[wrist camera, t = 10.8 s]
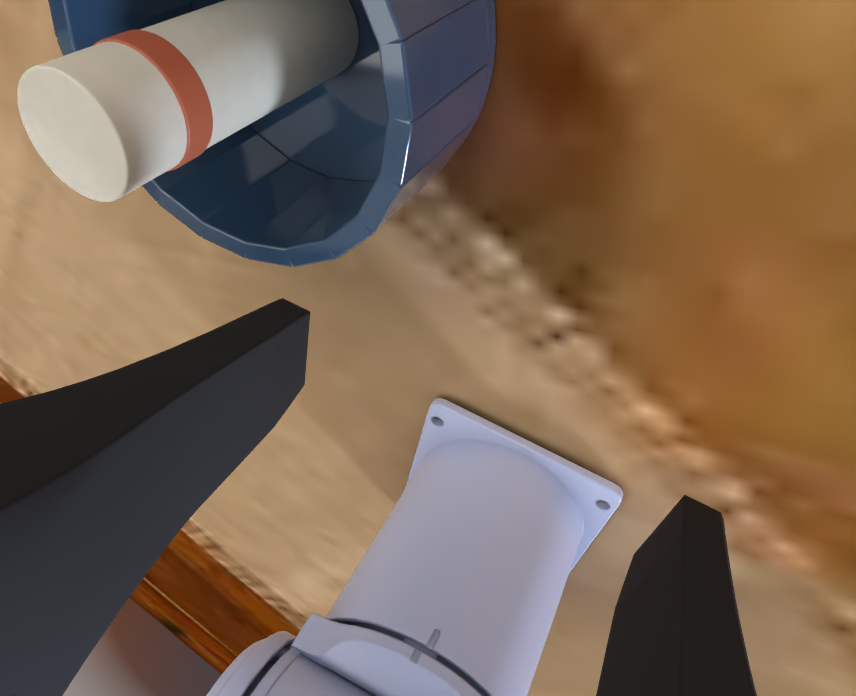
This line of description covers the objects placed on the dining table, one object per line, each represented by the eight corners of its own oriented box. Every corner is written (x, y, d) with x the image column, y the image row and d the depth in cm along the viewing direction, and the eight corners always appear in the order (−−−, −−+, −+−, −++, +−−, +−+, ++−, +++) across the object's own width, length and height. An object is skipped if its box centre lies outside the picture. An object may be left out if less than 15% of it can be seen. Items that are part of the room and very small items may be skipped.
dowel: (355, 90, 19) (138, 226, 13) (276, 58, 19) (33, 174, 14) (366, -11, 17) (118, 94, 11) (278, -44, 17) (-4, 41, 12)
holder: (451, 236, 21) (376, 322, 18) (197, 123, 23) (85, 182, 20) (548, -140, 14) (455, -118, 11) (172, -257, 16) (-10, -270, 13)
